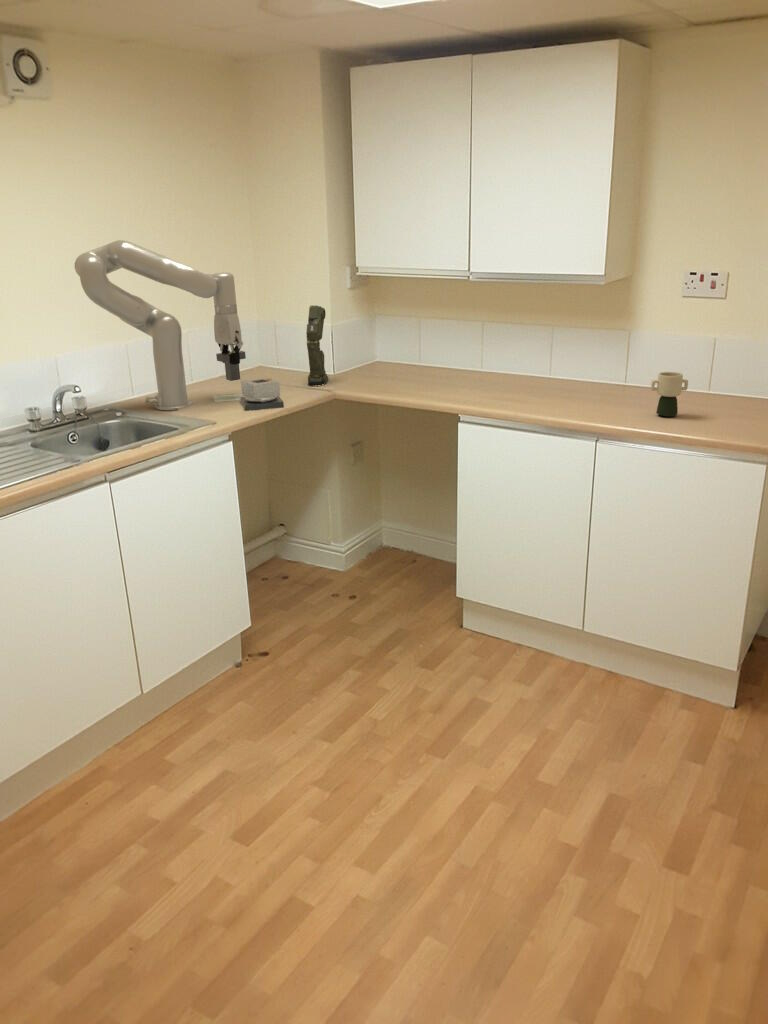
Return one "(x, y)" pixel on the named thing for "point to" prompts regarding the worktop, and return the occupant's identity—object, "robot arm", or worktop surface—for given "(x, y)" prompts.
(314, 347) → the mechanical leg
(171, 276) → the robot arm
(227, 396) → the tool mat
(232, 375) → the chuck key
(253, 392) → the grey boxy piece
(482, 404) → the worktop surface
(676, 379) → the character mug
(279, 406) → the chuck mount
